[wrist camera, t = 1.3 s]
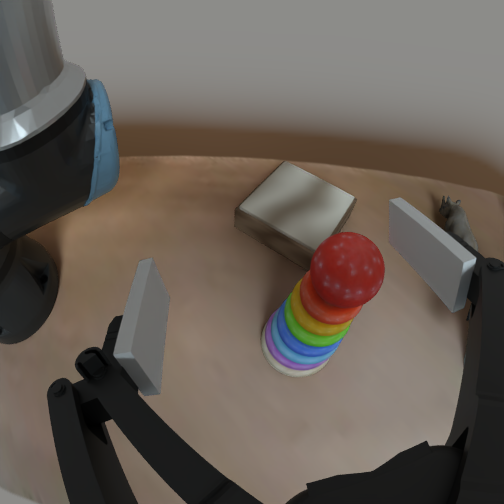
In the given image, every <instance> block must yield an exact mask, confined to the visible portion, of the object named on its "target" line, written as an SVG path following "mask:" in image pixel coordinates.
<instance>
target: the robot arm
mask: <svg viewBox="0 0 504 504" xmlns="http://www.w3.org/2000/svg"><path fill="white" fill-rule="evenodd" d="M119 168H120V166H119V153H118V145H117V138H116V133H115V129H114V126H113V119H112V113H111V107H110V103H109V99H108V96H107V93H106V90H105V88H104V86H103V84H102V82H101V81H99V80H97V79H95V80H87V79H86V75H85V72H84V70H83V69H82V68H81V67H80V66H79V65H76V64H74V63H71V62H68V61H65V60H64V59H63V55H62V50H61V46H60V41H59V36H58V31H57V27H56V22H55V16H54V10H53V4H52V0H0V343H3V344H14V343H18V342H21V341H23V340H25V339H27V338H29V337H30V336H32V335H33V334H34V333H35V332H36V331H37V330H38V329H39V328H40V327H41V326H42V325H43V323H44V322H45V321H46V319H47V317H48V316H49V314H50V312H51V310H52V308H53V305H54V303H55V299H56V296H57V291H58V272H57V268H56V265H55V262H54V260H53V259H52V257H51V256H50V255H49V253H48V252H47V251H46V249H45V248H44V247H43V246H42V245H41V244H39V243H38V242H37V241H35V240H33V239H31V238H29V237H28V236H26V234H28V233H30V232H31V231H33V230H35V229H37V228H39V227H41V226H43V225H45V224H47V223H49V222H51V221H53V220H55V219H57V218H59V217H61V216H64V215H66V214H68V213H70V212H72V211H74V210H76V209H78V208H81V207H84V206H87V205H88V204H89V203H90V202H91V201H93V200H94V199H96V198H98V197H100V196H102V195H104V194H106V193H108V192H109V191H111V190H112V189H113V188H114V187H115V185H116V183H117V181H118V178H119ZM389 243H390V244H391V245H392V246H393V247H394V248H395V249H396V250H397V251H398V252H399V254H400V255H401V256H402V257H403V258H404V259H405V260H406V261H407V262H408V263H409V264H410V265H411V266H412V267H413V269H414V270H415V271H416V272H417V273H418V274H419V275H420V276H421V277H422V279H423V280H424V281H425V282H426V283H427V284H428V285H429V286H430V288H431V289H432V290H433V291H434V292H435V293H436V294H437V296H438V297H439V298H440V299H441V300H442V301H443V303H444V304H445V305H446V306H447V307H448V309H449V310H450V311H451V312H452V313H454V312H456V311H458V310H460V309H463V308H464V307H465V303H466V300H467V298H468V299H469V300H470V301H471V302H472V303H471V306H470V310H469V313H468V316H467V319H466V320H467V321H468V320H469V328H468V338H467V347H466V356H465V363H464V370H463V376H462V382H461V388H460V393H459V398H458V403H457V408H456V413H455V417H454V421H453V426H452V429H451V433H450V435H449V438H448V440H447V442H446V444H445V446H444V445H437V446H429V444H428V442H427V441H425V442H423V443H421V444H418V445H416V446H414V447H412V448H409V449H407V450H405V451H403V452H400V453H399V454H397V455H396V456H394V457H393V458H392V459H390V460H389V461H387V462H386V463H384V464H383V465H381V466H380V467H378V468H377V469H375V470H374V471H371V472H364V473H355V474H344V475H336V476H333V477H329V478H326V479H322V480H318V481H315V482H311V483H307V484H306V485H307V489H308V490H307V489H306V490H304V491H302V492H300V493H299V494H297V495H296V496H294V497H293V498H292V499H290V500H289V501H288V502H287V503H286V504H504V263H503V262H502V261H500V260H498V259H495V258H486V259H485V258H484V257H483V256H482V255H481V254H480V253H478V252H477V251H476V250H475V249H474V248H473V247H471V246H469V244H468V243H467V242H465V241H464V240H463V239H462V238H460V237H459V236H458V235H456V234H454V233H452V232H449V231H448V232H445V231H444V230H442V229H441V228H440V227H439V226H437V225H436V224H435V223H434V222H432V221H431V220H430V219H429V218H427V217H426V216H425V215H423V214H422V213H421V212H419V211H418V210H417V209H415V208H414V207H413V206H411V205H410V204H409V203H407V202H406V201H405V200H403V199H402V198H396V199H391V200H389ZM169 302H170V297H169V294H168V292H167V290H166V288H165V285H164V283H163V281H162V279H161V276H160V274H159V272H158V269H157V267H156V265H155V262H154V260H153V258H149V259H145V260H141V261H139V264H138V267H137V270H136V274H135V277H134V280H133V283H132V287H131V290H130V293H129V297H128V300H127V304H126V307H125V311H124V314H123V315H121V316H116V317H115V318H114V319H113V320H112V322H111V323H110V324H109V327H108V331H107V335H106V337H105V341H104V344H103V348H102V350H101V349H100V348H98V347H91V348H88V349H86V350H84V351H83V352H82V353H81V354H80V355H79V356H78V357H77V359H76V362H75V367H76V370H77V371H78V372H79V373H80V374H81V376H82V377H83V378H84V379H83V380H81V381H79V382H76V383H74V384H72V383H71V382H70V381H69V380H68V379H66V378H61V379H58V380H56V381H55V382H53V383H52V384H51V386H50V387H49V389H48V392H47V399H48V407H49V414H50V420H51V426H52V432H53V437H54V442H55V447H56V452H57V457H58V461H59V465H60V470H61V473H62V477H63V481H64V485H65V488H66V492H67V495H68V499H69V502H70V504H138V502H137V500H136V498H135V496H134V494H133V492H132V490H131V488H130V485H129V483H128V481H127V479H126V476H125V474H124V472H123V469H122V467H121V464H120V462H119V460H118V457H117V455H116V452H115V449H114V447H113V444H112V441H111V439H110V436H109V433H108V430H107V427H106V425H105V422H106V421H108V420H111V419H113V420H114V422H115V423H116V424H117V426H118V427H119V428H120V429H121V431H122V432H123V433H124V435H125V436H126V437H127V438H128V440H129V441H130V442H131V443H132V445H133V446H134V447H135V448H136V449H137V451H138V452H139V453H140V454H141V455H142V456H143V458H144V459H145V460H146V461H147V462H148V463H149V464H150V466H151V467H152V468H153V469H154V470H155V471H156V472H157V473H158V474H159V475H160V477H161V478H162V479H163V480H164V481H165V482H166V483H167V484H168V485H169V486H170V487H171V488H172V489H173V490H174V491H175V492H176V493H177V494H178V495H179V496H180V497H181V498H182V499H183V500H184V501H185V502H186V503H187V504H263V503H261V502H260V501H259V500H257V499H256V498H254V497H253V496H252V495H250V494H249V493H248V492H246V491H245V490H244V489H242V488H241V487H240V486H238V485H237V484H236V483H234V482H233V481H231V480H230V479H228V478H227V477H225V476H224V475H223V474H222V473H220V472H219V471H218V470H217V469H216V468H214V467H213V466H212V465H211V464H210V463H208V462H207V461H206V460H205V459H204V458H203V457H201V456H200V455H199V454H198V453H197V452H196V451H195V450H194V449H192V448H191V447H190V446H189V445H188V444H187V443H186V442H185V441H184V440H183V439H182V438H181V437H179V436H178V435H177V434H176V433H175V432H174V431H173V430H172V429H171V428H170V427H169V426H168V425H167V424H166V423H165V422H164V421H163V420H162V419H161V418H160V417H159V416H158V415H157V414H156V413H155V412H154V411H153V410H152V409H151V408H150V407H149V406H148V404H147V403H146V402H145V401H144V400H143V399H142V398H141V397H140V396H139V395H138V389H139V390H140V391H141V393H142V394H143V395H144V396H149V395H157V394H160V393H161V380H162V368H163V357H164V346H165V337H166V327H167V319H168V310H169Z"/></svg>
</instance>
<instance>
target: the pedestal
mask: <svg viewBox="0 0 504 504" xmlns="http://www.w3.org/2000/svg"><path fill="white" fill-rule="evenodd" d="M356 201H357V199H356V198H355V197H354V196H352V195H350V194H348V193H346V192H345V191H343V190H341V189H339V188H337V187H335V186H333V185H332V184H330V183H328V182H326V181H324V180H322V179H320V178H318V177H316V176H314V175H313V174H311V173H309V172H307V171H305V170H303V169H301V168H299V167H297V166H295V165H293V164H291V163H289V162H287V161H283V162H282V163H281V164H280V165H279V166H278V167H277V168H276V169H275V170H274V171H273V172H272V173H271V174H270V175H269V176H268V177H267V178H266V179H265V180H264V181H263V182H262V183H261V184H260V185H259V186H258V187H257V188H256V189H255V190H254V191H253V192H252V193H251V194H250V195H249V196H248V197H247V198H246V199H245V200H244V201H243V202H242V203H241V204H240V205H239V206H238V207H237V208H236V209H235V222H234V227H236V228H238V229H239V230H241V231H243V232H244V233H246V234H248V235H249V236H251V237H253V238H254V239H256V240H258V241H259V242H261V243H263V244H264V245H266V246H268V247H269V248H271V249H273V250H274V251H276V252H278V253H279V254H281V255H283V256H284V257H286V258H288V259H289V260H291V261H293V262H294V263H296V264H298V265H299V266H301V267H303V268H304V269H306V270H308V271H309V270H310V265H311V260H312V257H313V254H314V253H315V251H316V249H317V248H318V246H319V245H320V244H321V243H322V242H323V241H324V240H325V239H327V238H328V237H330V236H332V235H335V234H338V233H339V232H340V230H341V229H342V227H343V226H344V224H345V223H346V221H347V219H348V218H349V216H350V214H351V212H352V210H353V208H354V205H355V203H356Z"/></svg>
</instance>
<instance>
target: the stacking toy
mask: <svg viewBox="0 0 504 504" xmlns="http://www.w3.org/2000/svg"><path fill="white" fill-rule="evenodd" d="M384 273H385V266H384V261H383V257H382V255H381V253H380V251H379V249H378V248H377V246H376V245H375V244H374V243H373V242H372V241H371V240H369V239H368V238H367V237H365V236H363V235H360V234H357V233H353V232H342V233H338V234H335V235H332V236H330V237H328V238H327V239H325V240H324V241H323V242H322V243H321V244H320V245H319V246H318V248H317V249H316V251H315V253H314V254H313V257H312V260H311V265H310V270H309V271H308V272H307V273H306V274H305V275H304V277H303V278H302V279H301V280H300V281H299V282H298V283H297V284H296V285H295V287H294V289H293V291H292V292H291V293H290V295H289V297H288V298H287V299H286V300H285V301H284V302H283V304H282V305H281V307H279V308H278V309H277V310H276V311H275V312H274V313H273V314H272V315H271V316H270V318H269V320H268V322H267V323H266V325H265V326H264V329H263V332H262V336H261V347H262V351H263V354H264V356H265V358H266V360H267V361H268V362H269V364H270V365H271V366H272V367H273V368H274V369H276V370H277V371H279V372H280V373H282V374H285V375H287V376H291V377H305V376H309V375H312V374H314V373H316V372H318V371H320V370H321V369H322V368H323V367H324V366H325V365H326V364H327V363H328V361H329V359H330V357H331V355H332V354H333V353H334V352H335V351H336V349H337V347H338V346H339V344H340V342H341V340H342V339H343V337H344V335H345V334H346V333H347V331H348V329H349V327H350V324H351V322H352V320H353V318H354V317H355V316H356V315H357V314H358V313H359V311H360V310H361V308H362V306H363V304H365V303H366V302H368V301H369V300H371V299H372V298H373V297H374V296H375V295H376V294H377V292H378V291H379V289H380V287H381V285H382V283H383V279H384Z"/></svg>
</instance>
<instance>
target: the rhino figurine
mask: <svg viewBox="0 0 504 504" xmlns="http://www.w3.org/2000/svg"><path fill="white" fill-rule="evenodd" d="M460 202H461V200H457V201H456V203H455V202H452V201H451V199H450V197H449V196H448V198H447V201H446V203H445V196H443V199H442V205H441V208H440V209H439V212H440V214H442V215H443V216H444V217H445V218H447V221H446V224H445V230H444V231H445V232H448V231H449V232H452V233H454V234H456V235H458V236H459V237H460V238H462V239H463V240H464V241H465V242H467V243H468V244H469V246H471V247H473V248H474V249H475V250H476V251H477V252H478V244H477V242H476V240H475V238H474V236H473V234H472V232H471V229H470V226H469V223H468V220H467V217H466V213H465V211H464V210H463V209H462V208H461V207H460V206H458V205H460ZM448 203H449V204H448Z"/></svg>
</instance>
